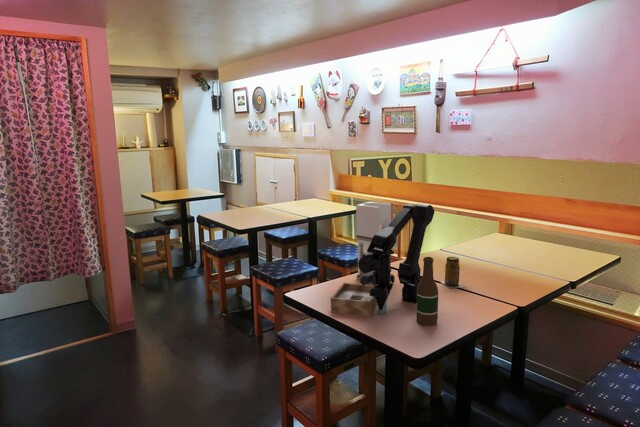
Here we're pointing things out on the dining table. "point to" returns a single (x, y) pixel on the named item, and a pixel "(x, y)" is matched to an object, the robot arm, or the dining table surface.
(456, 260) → the condiment
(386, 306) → the peg
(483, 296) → the dining table surface
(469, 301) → the dining table surface
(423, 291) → the beer bottle
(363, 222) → the display case
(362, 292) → the box
